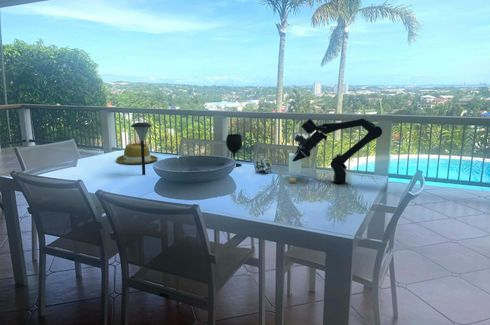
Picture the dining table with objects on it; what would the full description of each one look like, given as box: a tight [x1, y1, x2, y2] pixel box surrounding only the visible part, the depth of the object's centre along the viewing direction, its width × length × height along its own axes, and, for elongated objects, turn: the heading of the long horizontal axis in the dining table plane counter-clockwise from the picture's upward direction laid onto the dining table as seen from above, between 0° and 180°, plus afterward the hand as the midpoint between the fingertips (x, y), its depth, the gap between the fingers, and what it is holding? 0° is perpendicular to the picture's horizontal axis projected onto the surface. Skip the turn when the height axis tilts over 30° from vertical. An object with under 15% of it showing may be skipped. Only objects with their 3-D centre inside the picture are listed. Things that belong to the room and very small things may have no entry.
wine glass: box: [225, 133, 243, 168], centre depth 239 cm, size 10×10×20 cm
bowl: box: [289, 177, 296, 184], centre depth 197 cm, size 4×4×3 cm
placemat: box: [275, 175, 310, 188], centre depth 202 cm, size 22×14×1 cm, turn 161°
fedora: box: [115, 142, 159, 165], centre depth 251 cm, size 27×29×12 cm
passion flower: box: [255, 156, 273, 174], centre depth 221 cm, size 11×11×12 cm
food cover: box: [288, 152, 303, 174], centre depth 204 cm, size 7×7×10 cm
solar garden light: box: [130, 121, 153, 176], centre depth 210 cm, size 12×12×30 cm
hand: (292, 159), depth 203 cm, fingers closed on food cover, 7 cm apart
